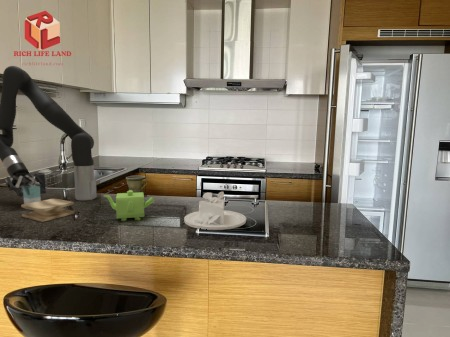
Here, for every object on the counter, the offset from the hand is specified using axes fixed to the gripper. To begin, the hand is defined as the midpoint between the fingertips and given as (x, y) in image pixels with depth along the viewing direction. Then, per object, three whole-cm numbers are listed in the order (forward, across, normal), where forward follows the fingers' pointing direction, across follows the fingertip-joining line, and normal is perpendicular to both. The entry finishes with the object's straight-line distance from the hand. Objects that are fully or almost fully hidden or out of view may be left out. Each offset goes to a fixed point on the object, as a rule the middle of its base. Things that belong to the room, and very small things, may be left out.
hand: (31, 194), depth 148 cm
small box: (-18, +20, +27) cm, 38 cm away
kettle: (+39, +11, -30) cm, 51 cm away
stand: (+17, -4, -8) cm, 19 cm away
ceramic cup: (+20, +44, -11) cm, 50 cm away
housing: (+5, 0, +4) cm, 6 cm away
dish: (+62, +26, -53) cm, 85 cm away
